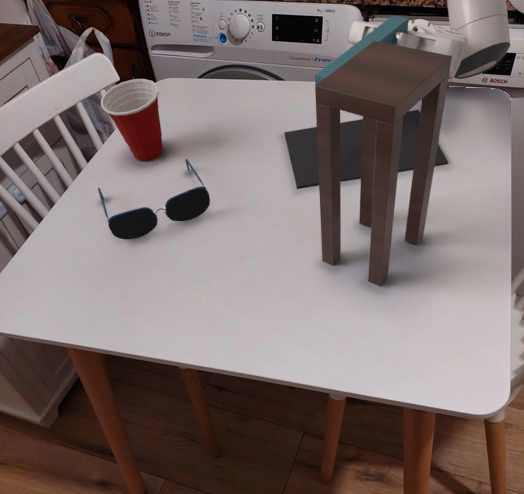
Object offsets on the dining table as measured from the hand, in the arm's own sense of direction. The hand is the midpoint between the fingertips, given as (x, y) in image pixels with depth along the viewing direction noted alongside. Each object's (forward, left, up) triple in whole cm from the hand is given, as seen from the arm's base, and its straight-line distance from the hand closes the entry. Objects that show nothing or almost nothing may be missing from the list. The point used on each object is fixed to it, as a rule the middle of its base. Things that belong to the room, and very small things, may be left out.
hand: (385, 35), depth 83 cm
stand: (+8, +32, -16) cm, 37 cm away
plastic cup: (+44, -5, -17) cm, 48 cm away
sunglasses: (+42, +12, -17) cm, 47 cm away
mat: (+4, +5, -16) cm, 18 cm away
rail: (+4, +4, -2) cm, 7 cm away
